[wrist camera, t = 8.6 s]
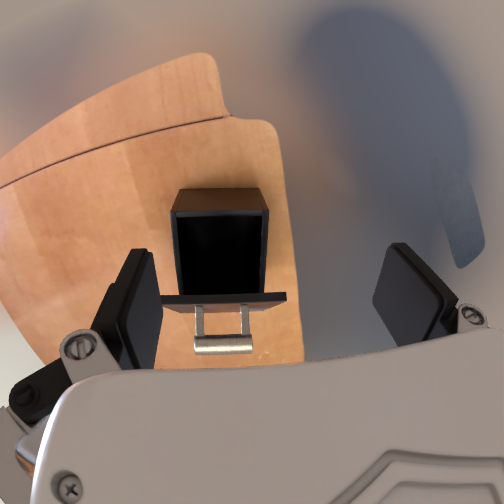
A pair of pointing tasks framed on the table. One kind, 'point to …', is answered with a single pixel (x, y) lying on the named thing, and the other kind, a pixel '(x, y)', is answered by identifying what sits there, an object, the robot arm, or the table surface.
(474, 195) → the table surface
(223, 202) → the black hollow box
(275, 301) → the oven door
